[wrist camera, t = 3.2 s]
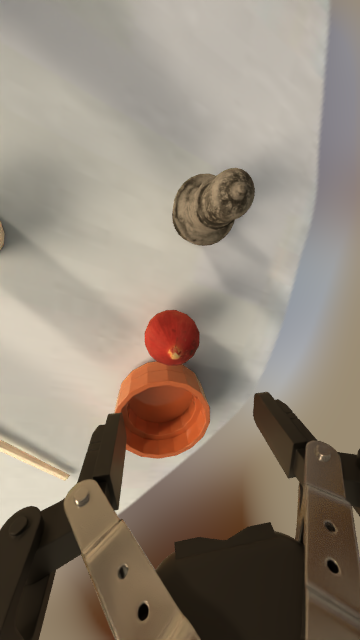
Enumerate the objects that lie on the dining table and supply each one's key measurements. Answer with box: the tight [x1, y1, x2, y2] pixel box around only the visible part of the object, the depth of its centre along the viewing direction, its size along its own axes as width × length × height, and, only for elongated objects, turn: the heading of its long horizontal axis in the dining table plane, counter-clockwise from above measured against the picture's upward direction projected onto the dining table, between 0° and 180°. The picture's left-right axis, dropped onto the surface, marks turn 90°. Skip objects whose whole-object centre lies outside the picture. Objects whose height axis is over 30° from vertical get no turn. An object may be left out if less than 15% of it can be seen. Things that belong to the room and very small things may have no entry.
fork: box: [0, 440, 70, 480], centre depth 28 cm, size 3×20×2 cm, turn 42°
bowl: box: [114, 361, 210, 458], centre depth 27 cm, size 11×11×5 cm
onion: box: [145, 310, 199, 366], centre depth 23 cm, size 6×6×8 cm
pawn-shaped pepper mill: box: [172, 168, 255, 246], centre depth 17 cm, size 6×6×12 cm
